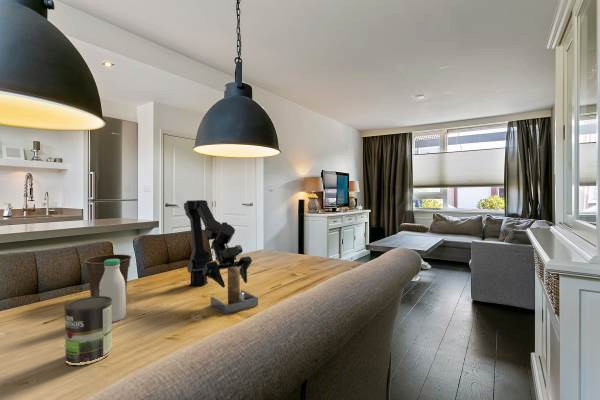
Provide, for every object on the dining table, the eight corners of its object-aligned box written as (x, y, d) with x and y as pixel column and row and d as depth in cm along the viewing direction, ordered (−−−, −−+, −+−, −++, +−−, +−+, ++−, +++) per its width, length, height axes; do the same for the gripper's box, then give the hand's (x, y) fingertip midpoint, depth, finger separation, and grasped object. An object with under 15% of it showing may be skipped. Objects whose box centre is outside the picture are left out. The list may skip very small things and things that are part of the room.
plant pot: (138, 297, 128) (137, 258, 127) (91, 308, 116) (90, 264, 115) (124, 289, 139) (123, 252, 138) (80, 298, 127) (79, 258, 127)
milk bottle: (131, 315, 108) (130, 258, 108) (111, 324, 101) (110, 263, 101) (114, 313, 111) (113, 256, 110) (93, 321, 104) (92, 261, 103)
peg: (227, 307, 116) (227, 269, 116) (228, 303, 121) (228, 267, 120) (239, 306, 117) (239, 269, 117) (239, 302, 121) (239, 266, 121)
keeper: (210, 305, 119) (210, 289, 118) (242, 297, 127) (242, 282, 127) (225, 314, 109) (225, 297, 109) (258, 305, 118) (258, 290, 118)
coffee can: (83, 370, 75) (82, 311, 75) (55, 361, 79) (54, 306, 79) (121, 350, 85) (121, 298, 85) (95, 343, 89) (94, 294, 88)
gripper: (205, 240, 115) (218, 277, 107) (249, 236, 127) (264, 268, 119) (197, 258, 122) (209, 294, 113) (240, 252, 133) (253, 284, 125)
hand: (235, 284), depth 118 cm, fingers open, 9 cm apart
